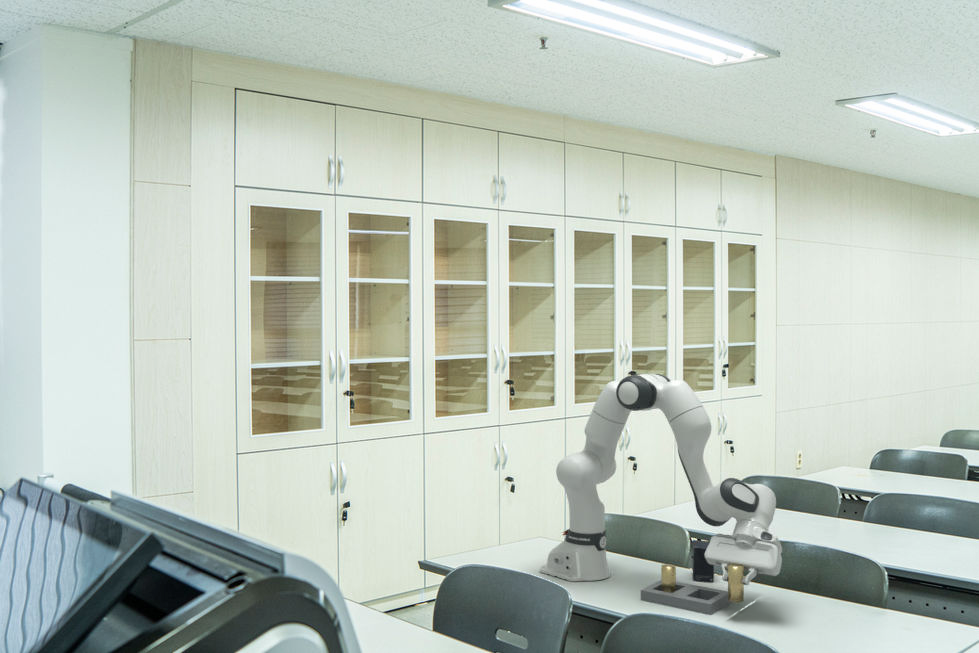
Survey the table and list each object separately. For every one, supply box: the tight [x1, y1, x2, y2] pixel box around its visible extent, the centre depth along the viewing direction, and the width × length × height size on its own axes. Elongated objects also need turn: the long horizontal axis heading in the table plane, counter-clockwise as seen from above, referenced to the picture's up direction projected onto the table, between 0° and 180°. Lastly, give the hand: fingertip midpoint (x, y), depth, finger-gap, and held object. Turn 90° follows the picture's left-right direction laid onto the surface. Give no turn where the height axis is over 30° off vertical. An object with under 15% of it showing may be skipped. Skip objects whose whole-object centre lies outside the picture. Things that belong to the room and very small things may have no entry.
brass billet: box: [727, 564, 745, 603], centre depth 230 cm, size 4×4×9 cm
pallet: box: [640, 579, 732, 616], centre depth 243 cm, size 21×14×4 cm, turn 52°
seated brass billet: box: [661, 563, 677, 593], centre depth 246 cm, size 4×4×9 cm
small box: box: [692, 539, 715, 583], centre depth 269 cm, size 11×6×10 cm, turn 168°
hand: (734, 582), depth 229 cm, fingers closed on brass billet, 4 cm apart
